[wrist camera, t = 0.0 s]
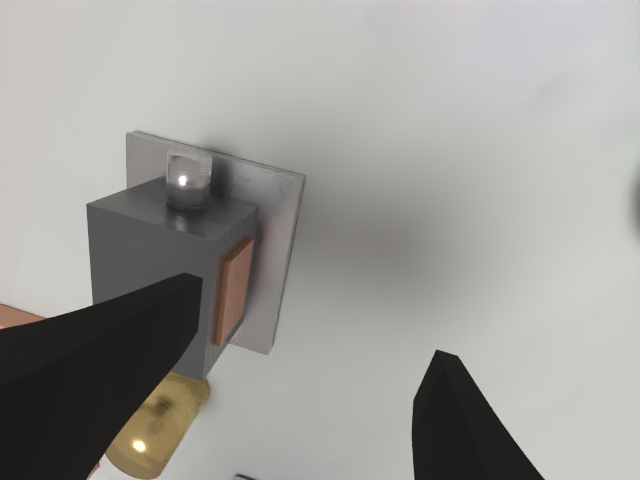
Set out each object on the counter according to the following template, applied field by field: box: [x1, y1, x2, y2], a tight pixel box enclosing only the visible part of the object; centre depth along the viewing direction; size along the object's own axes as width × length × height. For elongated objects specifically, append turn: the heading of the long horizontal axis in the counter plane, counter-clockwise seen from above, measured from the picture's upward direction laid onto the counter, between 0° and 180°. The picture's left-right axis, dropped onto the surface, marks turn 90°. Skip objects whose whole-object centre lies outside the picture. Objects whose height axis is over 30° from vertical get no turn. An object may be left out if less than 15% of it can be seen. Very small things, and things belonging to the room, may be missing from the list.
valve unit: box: [86, 131, 305, 382], centre depth 20 cm, size 12×10×6 cm
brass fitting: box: [105, 371, 210, 480], centre depth 25 cm, size 4×4×6 cm
